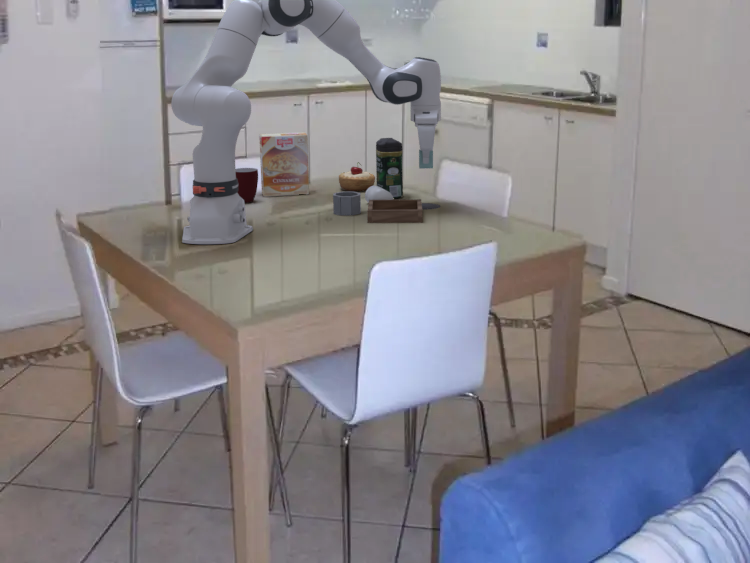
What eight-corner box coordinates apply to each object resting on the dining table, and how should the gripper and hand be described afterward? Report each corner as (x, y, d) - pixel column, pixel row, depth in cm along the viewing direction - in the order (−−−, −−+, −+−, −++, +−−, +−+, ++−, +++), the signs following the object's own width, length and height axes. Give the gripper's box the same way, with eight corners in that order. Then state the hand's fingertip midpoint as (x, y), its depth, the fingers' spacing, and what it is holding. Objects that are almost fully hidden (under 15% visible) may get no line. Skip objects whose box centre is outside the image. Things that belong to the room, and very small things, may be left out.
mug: (221, 203, 286) (219, 171, 283) (233, 198, 293) (231, 167, 290) (252, 204, 283) (251, 172, 280) (263, 199, 290) (261, 168, 287)
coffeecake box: (263, 197, 294) (260, 136, 289) (261, 193, 301) (258, 133, 295) (309, 194, 297) (307, 134, 292) (306, 190, 304) (304, 131, 299)
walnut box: (422, 224, 254) (422, 210, 253) (367, 224, 255) (367, 210, 254) (421, 212, 269) (421, 199, 268) (369, 213, 269) (369, 199, 268)
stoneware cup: (360, 217, 264) (359, 196, 262) (333, 217, 264) (332, 196, 263) (361, 211, 272) (360, 191, 270) (334, 211, 272) (334, 191, 270)
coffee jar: (374, 194, 296) (373, 136, 291) (397, 193, 298) (397, 135, 293) (380, 200, 287) (380, 140, 282) (405, 198, 289) (405, 139, 283)
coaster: (441, 211, 270) (441, 209, 270) (410, 211, 271) (410, 209, 271) (439, 205, 279) (439, 203, 279) (410, 205, 279) (410, 203, 279)
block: (432, 168, 270) (433, 151, 268) (419, 168, 270) (419, 151, 268) (432, 166, 273) (432, 149, 272) (419, 166, 273) (419, 149, 272)
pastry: (334, 192, 301) (333, 165, 299) (345, 185, 312) (344, 159, 310) (369, 193, 298) (368, 166, 295) (379, 187, 309) (378, 160, 306)
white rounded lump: (396, 205, 274) (389, 187, 271) (378, 213, 272) (371, 195, 270) (386, 200, 282) (379, 182, 280) (368, 207, 281) (362, 190, 278)
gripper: (414, 110, 277) (414, 156, 281) (415, 118, 258) (415, 167, 261) (435, 110, 277) (435, 156, 281) (437, 118, 257) (437, 167, 261)
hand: (425, 161), depth 271 cm, fingers closed on block, 4 cm apart
